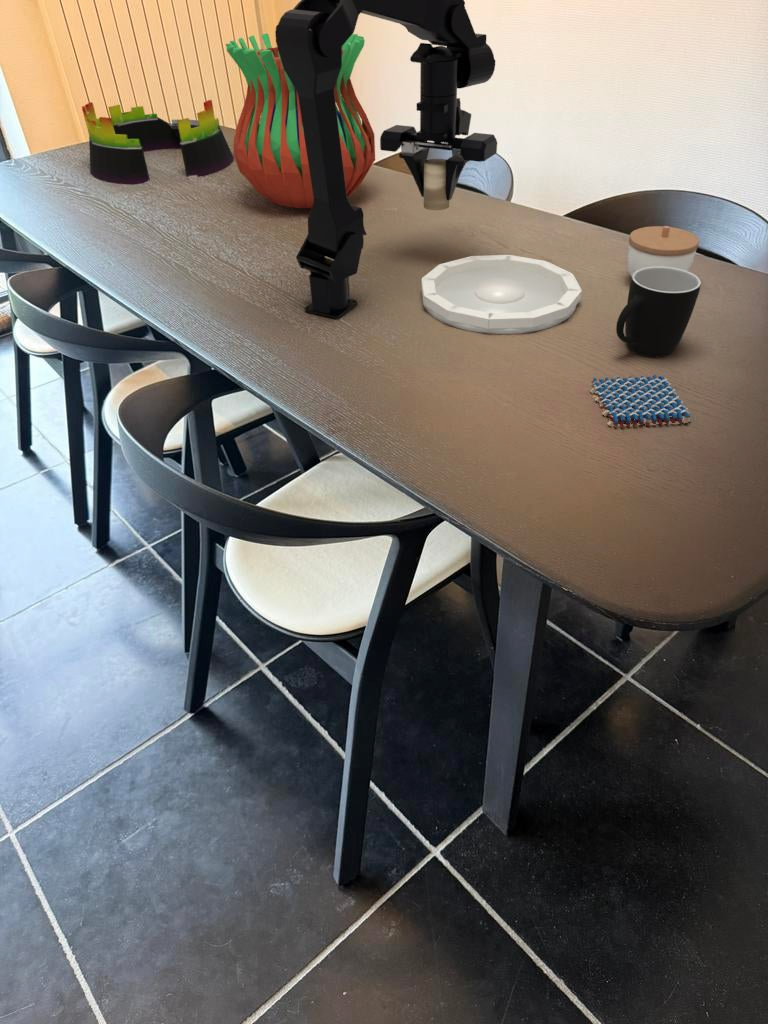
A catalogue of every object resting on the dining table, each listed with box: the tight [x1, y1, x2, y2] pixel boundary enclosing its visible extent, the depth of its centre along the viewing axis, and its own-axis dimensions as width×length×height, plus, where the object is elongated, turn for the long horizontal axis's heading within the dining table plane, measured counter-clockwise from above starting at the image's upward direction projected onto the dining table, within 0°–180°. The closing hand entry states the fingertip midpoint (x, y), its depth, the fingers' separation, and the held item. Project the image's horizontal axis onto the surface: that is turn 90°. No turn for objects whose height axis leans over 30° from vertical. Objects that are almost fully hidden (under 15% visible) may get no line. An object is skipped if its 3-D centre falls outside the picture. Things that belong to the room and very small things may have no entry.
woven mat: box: [587, 374, 691, 428], centre depth 90 cm, size 10×11×2 cm
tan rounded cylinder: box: [423, 158, 450, 211], centre depth 119 cm, size 4×4×7 cm
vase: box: [225, 33, 376, 209], centre depth 149 cm, size 30×30×30 cm
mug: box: [615, 266, 702, 358], centre depth 98 cm, size 12×9×10 cm
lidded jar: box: [626, 225, 700, 278], centre depth 116 cm, size 11×11×9 cm
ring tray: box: [420, 254, 583, 335], centre depth 115 cm, size 25×25×2 cm
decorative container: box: [81, 99, 235, 186], centre depth 180 cm, size 37×37×15 cm
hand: (436, 198), depth 121 cm, fingers closed on tan rounded cylinder, 4 cm apart
